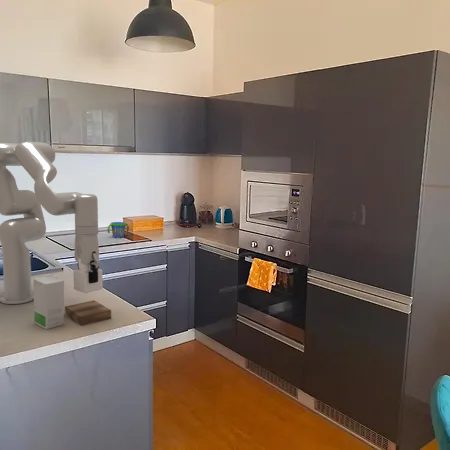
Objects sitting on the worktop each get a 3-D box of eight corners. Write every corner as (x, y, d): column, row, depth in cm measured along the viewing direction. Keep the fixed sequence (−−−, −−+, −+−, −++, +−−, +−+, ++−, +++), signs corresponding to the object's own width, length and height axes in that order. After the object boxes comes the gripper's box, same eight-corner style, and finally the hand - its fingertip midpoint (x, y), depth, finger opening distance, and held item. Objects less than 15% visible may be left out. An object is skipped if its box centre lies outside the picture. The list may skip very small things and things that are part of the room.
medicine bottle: (91, 285, 155) (90, 252, 154) (103, 289, 151) (102, 255, 149) (73, 289, 150) (72, 255, 148) (85, 293, 145) (84, 259, 144)
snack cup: (125, 235, 310) (125, 221, 308) (132, 237, 302) (132, 223, 300) (104, 236, 301) (104, 222, 299) (110, 239, 292) (110, 224, 291)
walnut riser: (65, 314, 153) (65, 306, 153) (94, 308, 160) (94, 300, 160) (81, 325, 144) (80, 317, 143) (111, 318, 151) (111, 310, 151)
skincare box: (33, 323, 144) (32, 278, 142) (51, 318, 149) (50, 274, 147) (46, 330, 139) (45, 283, 137) (65, 324, 144) (64, 279, 142)
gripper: (65, 228, 151) (67, 276, 154) (87, 234, 138) (89, 287, 141) (85, 226, 156) (87, 273, 159) (109, 232, 144) (109, 283, 146)
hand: (88, 279), depth 150 cm, fingers closed on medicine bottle, 7 cm apart
